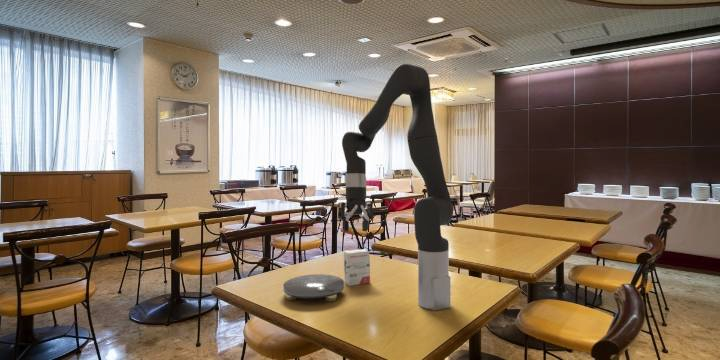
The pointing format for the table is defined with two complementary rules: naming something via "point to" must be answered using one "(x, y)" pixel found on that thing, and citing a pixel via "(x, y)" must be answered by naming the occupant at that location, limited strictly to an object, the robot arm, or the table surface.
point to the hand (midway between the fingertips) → (355, 231)
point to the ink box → (356, 267)
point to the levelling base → (313, 287)
